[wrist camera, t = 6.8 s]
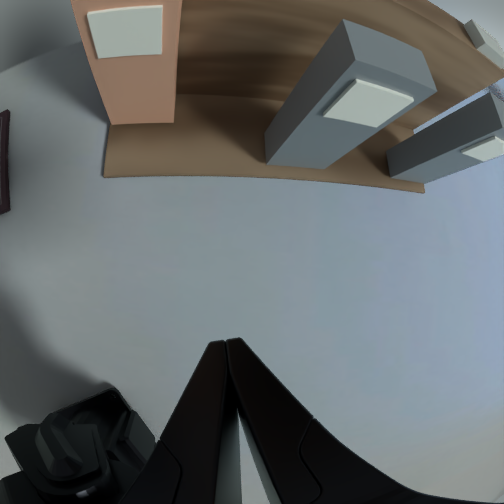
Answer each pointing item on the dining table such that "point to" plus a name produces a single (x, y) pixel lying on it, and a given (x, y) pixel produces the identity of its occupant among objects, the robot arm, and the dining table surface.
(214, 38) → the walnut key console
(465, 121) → the key
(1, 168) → the chocolate bar
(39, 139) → the dining table surface
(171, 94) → the terracotta key
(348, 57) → the middle slate key
